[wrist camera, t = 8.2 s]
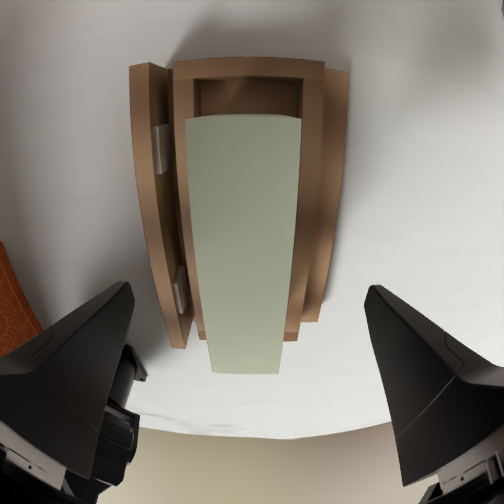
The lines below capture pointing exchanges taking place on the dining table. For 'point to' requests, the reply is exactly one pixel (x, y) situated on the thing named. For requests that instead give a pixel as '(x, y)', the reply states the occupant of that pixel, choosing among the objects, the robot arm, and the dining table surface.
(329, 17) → the dining table surface
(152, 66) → the box
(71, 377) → the robot arm
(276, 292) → the pale green box
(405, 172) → the dining table surface
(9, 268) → the book
